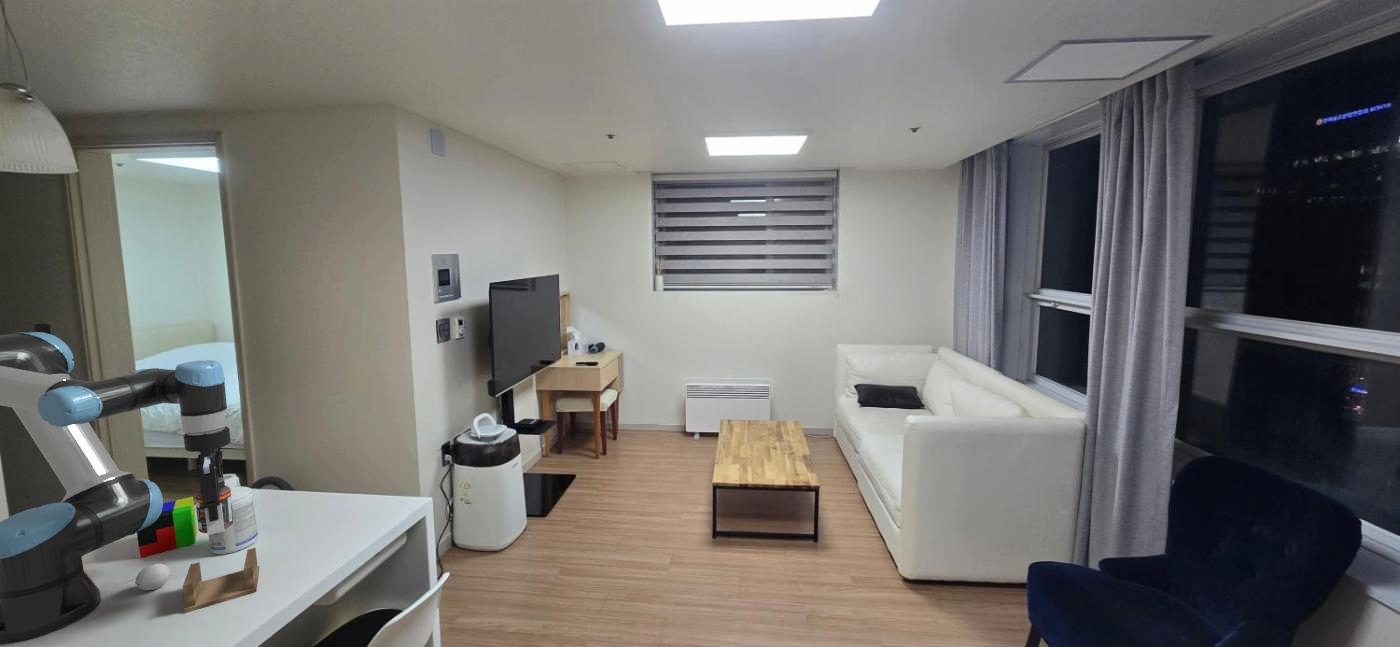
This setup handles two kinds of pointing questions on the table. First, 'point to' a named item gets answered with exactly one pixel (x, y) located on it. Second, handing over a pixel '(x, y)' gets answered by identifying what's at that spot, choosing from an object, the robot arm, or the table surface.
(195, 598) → the holder cradle
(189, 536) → the puzzle toy
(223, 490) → the supplement bottle
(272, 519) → the table surface
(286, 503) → the table surface
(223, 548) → the supplement tub
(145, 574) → the white oval egg shape
